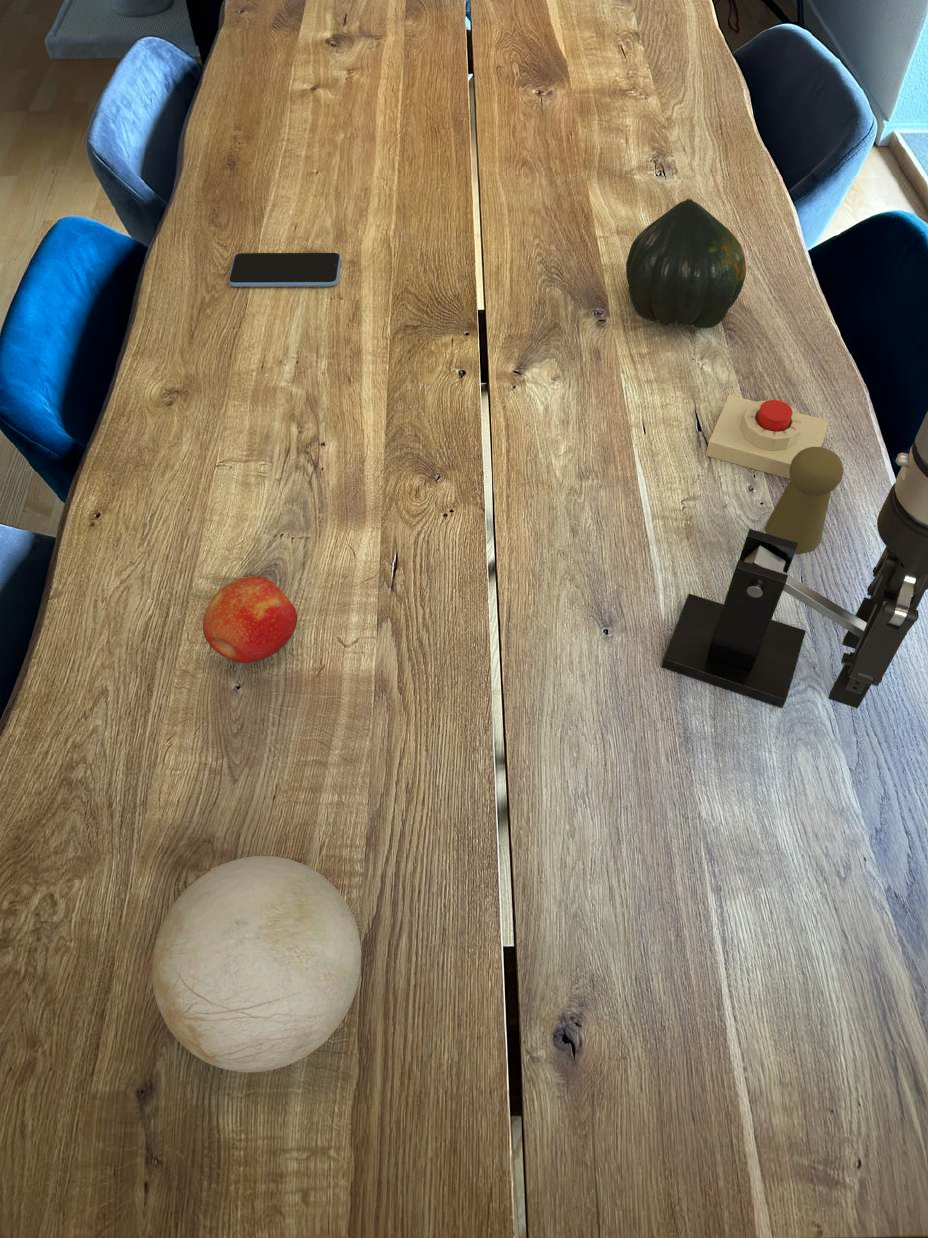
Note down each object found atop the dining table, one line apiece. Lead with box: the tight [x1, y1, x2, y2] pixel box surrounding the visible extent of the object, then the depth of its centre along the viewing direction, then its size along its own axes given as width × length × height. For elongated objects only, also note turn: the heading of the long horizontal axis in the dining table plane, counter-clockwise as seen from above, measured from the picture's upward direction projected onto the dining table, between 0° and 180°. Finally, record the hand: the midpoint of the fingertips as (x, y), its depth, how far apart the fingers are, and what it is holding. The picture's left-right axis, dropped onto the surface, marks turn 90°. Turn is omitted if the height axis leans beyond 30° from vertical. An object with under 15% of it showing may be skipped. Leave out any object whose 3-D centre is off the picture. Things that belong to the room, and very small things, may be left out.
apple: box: [202, 575, 298, 664], centre depth 98 cm, size 8×8×8 cm
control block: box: [705, 394, 830, 480], centre depth 117 cm, size 12×9×4 cm
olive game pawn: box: [764, 446, 844, 554], centre depth 106 cm, size 6×6×11 cm
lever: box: [744, 546, 867, 638], centre depth 91 cm, size 14×6×2 cm, turn 66°
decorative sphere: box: [151, 855, 363, 1073], centre depth 74 cm, size 15×15×15 cm
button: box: [757, 399, 792, 432], centre depth 115 cm, size 4×4×2 cm
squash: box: [625, 198, 747, 329], centre depth 130 cm, size 14×15×15 cm
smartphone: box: [227, 252, 342, 288], centre depth 140 cm, size 7×1×15 cm
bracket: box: [660, 528, 807, 709], centre depth 95 cm, size 12×9×15 cm
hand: (850, 672), depth 96 cm, fingers closed on lever, 6 cm apart
